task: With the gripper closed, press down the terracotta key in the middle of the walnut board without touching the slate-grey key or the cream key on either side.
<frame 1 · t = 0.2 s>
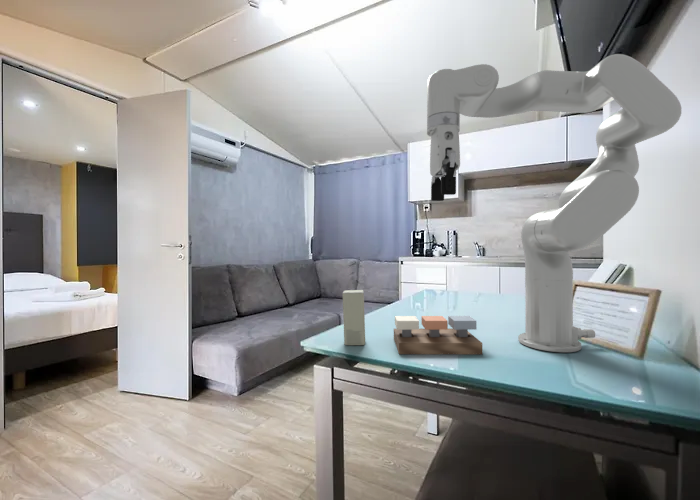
hand: (442, 197, 76), 35 cm above the table, tool pointing down, fingers open, 9 cm apart
cream key: (406, 327, 75), point 4 cm above the table, slide at 0.0 cm
slate key: (461, 327, 74), point 4 cm above the table, slide at 0.0 cm
terracotta key: (434, 327, 75), point 4 cm above the table, slide at 0.0 cm
walnut board: (434, 345, 75), on the table
box: (354, 343, 77), on the table
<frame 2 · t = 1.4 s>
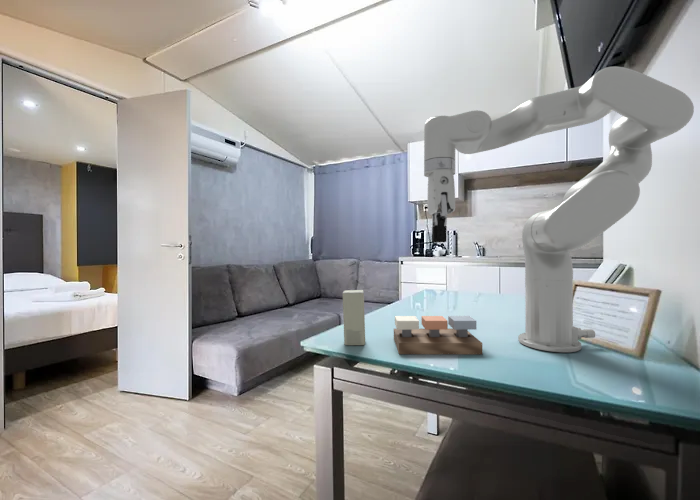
hand: (439, 242, 79), 25 cm above the table, tool pointing down, fingers closed
nothing on the table moved.
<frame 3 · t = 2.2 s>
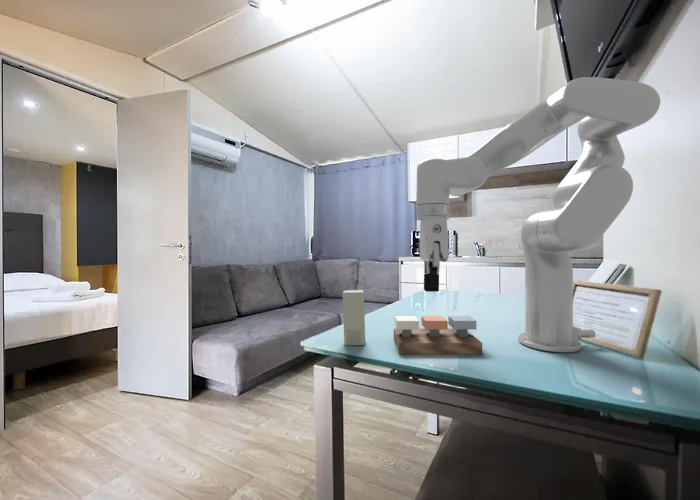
hand: (431, 290, 75), 13 cm above the table, tool pointing down, fingers closed
nothing on the table moved.
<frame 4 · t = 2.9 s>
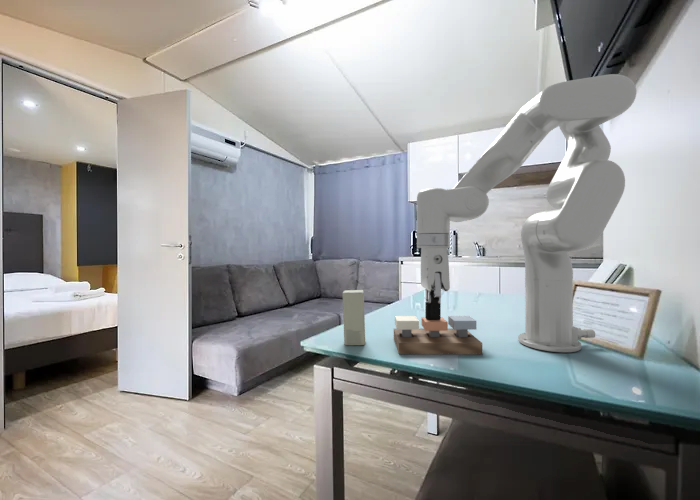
hand: (432, 319, 75), 6 cm above the table, tool pointing down, fingers closed
terracotta key: (434, 328, 75), point 4 cm above the table, slide at 0.3 cm, touching gripper
everything else where it was.
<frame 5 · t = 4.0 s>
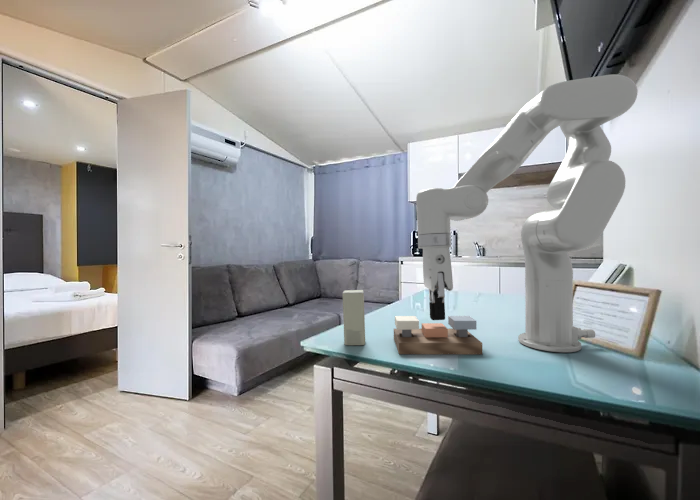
hand: (437, 319, 75), 6 cm above the table, tool pointing down, fingers closed
terracotta key: (434, 335, 75), point 2 cm above the table, slide at 1.8 cm
everything else where it was.
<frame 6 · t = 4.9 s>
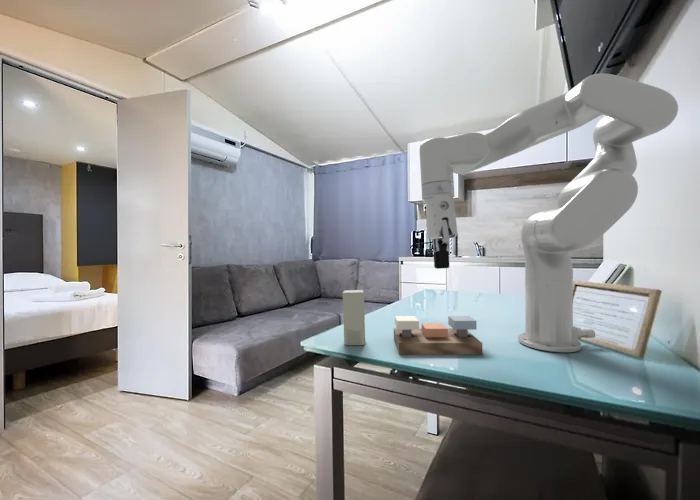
hand: (441, 267, 76), 18 cm above the table, tool pointing down, fingers closed
nothing on the table moved.
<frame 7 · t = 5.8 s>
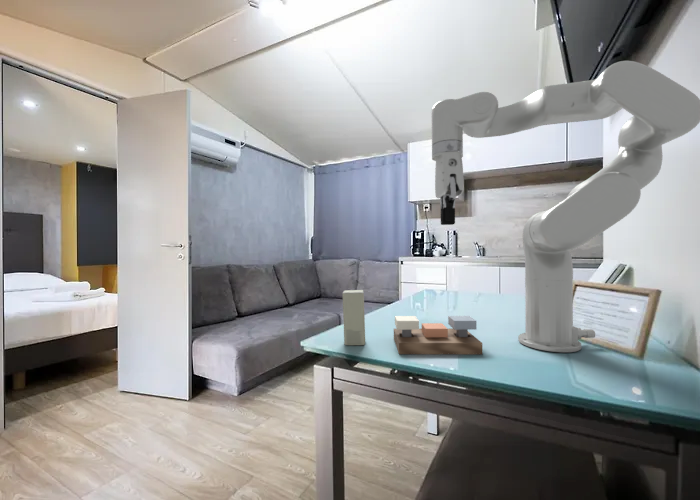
hand: (447, 224, 80), 29 cm above the table, tool pointing down, fingers closed
nothing on the table moved.
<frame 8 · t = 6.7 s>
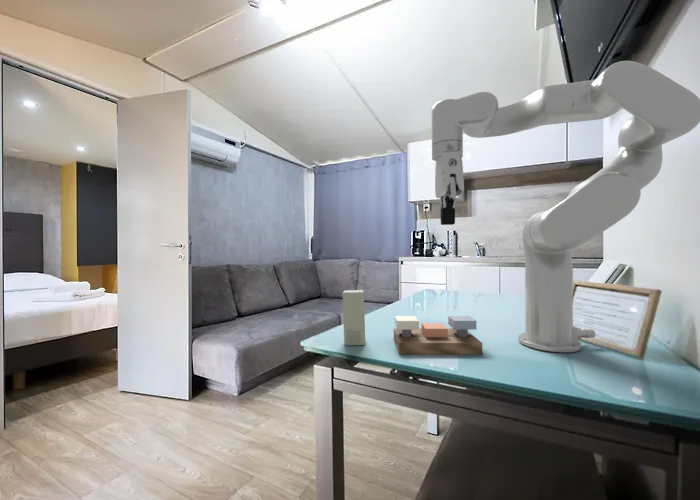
hand: (447, 224, 80), 29 cm above the table, tool pointing down, fingers closed
nothing on the table moved.
at the end: terracotta key slide at 1.8 cm; slate key slide at 0.0 cm; cream key slide at 0.0 cm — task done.
